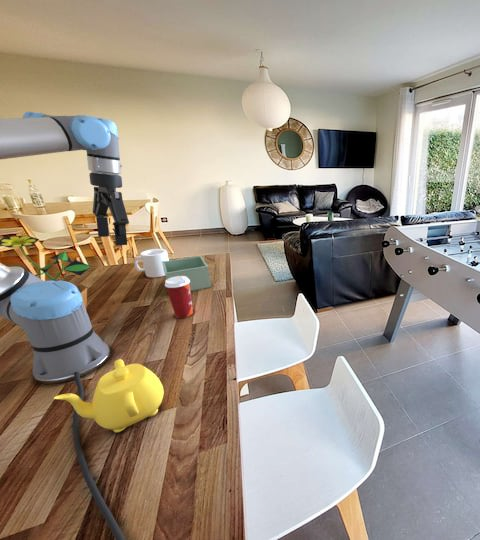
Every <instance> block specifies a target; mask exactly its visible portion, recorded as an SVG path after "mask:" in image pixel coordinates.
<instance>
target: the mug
mask: <svg viewBox="0 0 480 540" xmlns="http://www.w3.org/2000/svg"><path fill="white" fill-rule="evenodd" d="M140 259H141V262H142V266H143V267H142V268H141V267H140V265H139V262H138V260H140ZM169 260H170V259H169V255H168V250H167V249H166V248H152V249H147V250H144V251H142V252H140V254H139V255H136V256H135V258H134V261H133V263H134V267H135V269H136V270H137V272H144V273H145V276H146V277H148V278H160V277H165V272H164V268H163V264H162V261H169Z"/></svg>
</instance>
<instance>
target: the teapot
mask: <svg viewBox="0 0 480 540" xmlns="http://www.w3.org/2000/svg"><path fill="white" fill-rule="evenodd" d="M113 364H114V366H113V367H114V369H112V370H111V371H109V372H107V373H105V374H103V375H102V376H101V377H100V378H99V380H98V381H97V384H96V387H95V390H94V394H93V397H92V401H90V402H89V401H84V400H83V401H82V400H81V399H80V397H79V396H78V395H77V394H75V393H69V392H68V393H63V394H58V395H56V396H54V397H53V399H54V400H62V401H65V402H68V403H69V404H71V406H72V407H73V409H74V410H75V411H76V412H77V413H78V414H79V417H82V418H85V419H94V421H95V422H96V424H97V425H98V426H100V427H101V428H102V429H103V428H104V429H107V430H111V431H113V432H114V433H120V432H122V431H124V430H125V429H126V428H127V427H130V426H132V425H135V424H137V423H139V422H141V421H143V420H145V419H146V418H150V417H154V416H155V415H157V413H158V412H159V407H160V406H161V404H162V402H163V399H164V394H165V391H164V387H163V383H162V382H161V380H160V378H159V377H158V376H157V375H156V374H155V373H154V372H153V371H152V370H150V369H149V368H147V367H146V366H144V365H142V364H140V363H130V364H127V365H125V361H124V360H123V359H121V358H118V359H116V360H115V361H114V363H113Z"/></svg>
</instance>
